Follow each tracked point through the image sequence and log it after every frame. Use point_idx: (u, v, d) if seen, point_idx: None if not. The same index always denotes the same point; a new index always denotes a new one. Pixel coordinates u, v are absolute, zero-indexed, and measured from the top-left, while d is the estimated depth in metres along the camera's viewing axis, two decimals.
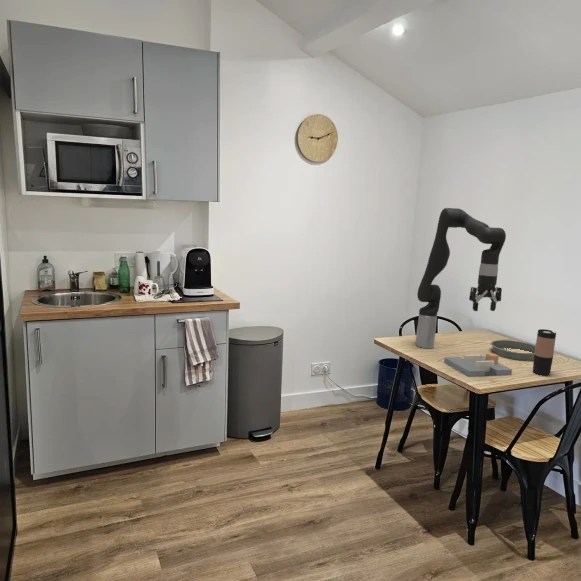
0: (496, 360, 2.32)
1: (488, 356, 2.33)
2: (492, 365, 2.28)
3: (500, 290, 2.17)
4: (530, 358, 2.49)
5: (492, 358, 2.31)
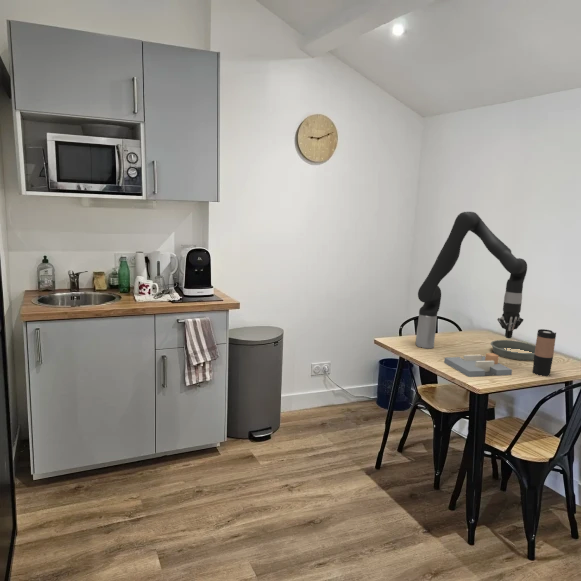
0: (496, 360, 2.32)
1: (488, 356, 2.33)
2: (492, 365, 2.28)
3: (521, 321, 2.32)
4: (530, 358, 2.49)
5: (492, 358, 2.31)
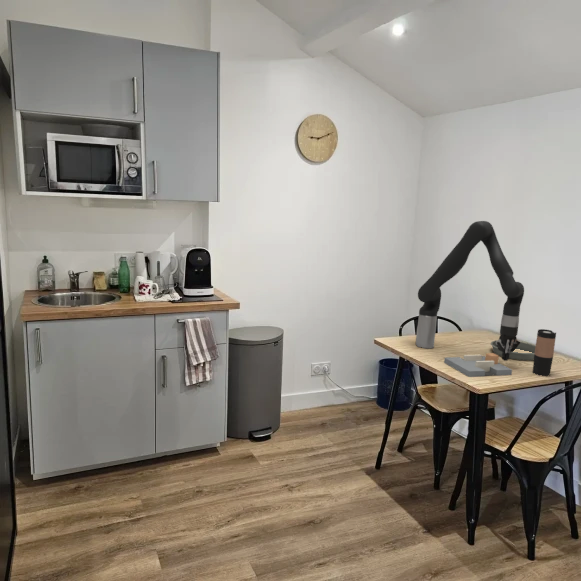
0: (496, 360, 2.32)
1: (488, 356, 2.33)
2: (492, 365, 2.28)
3: (518, 343, 2.34)
4: (530, 358, 2.49)
5: (492, 358, 2.31)
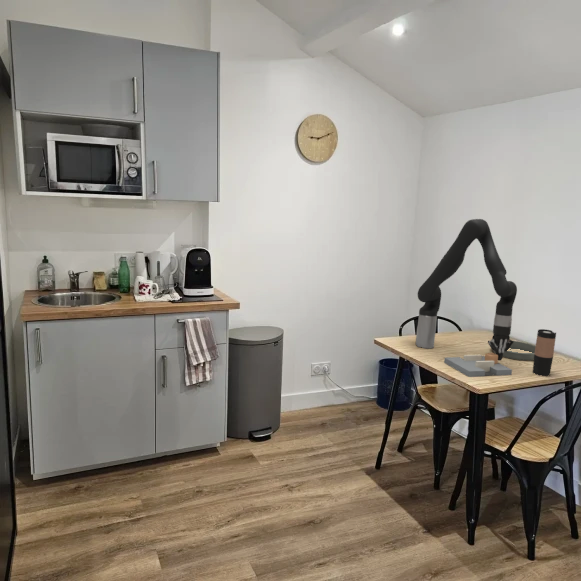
0: (496, 360, 2.32)
1: (487, 356, 2.33)
2: (492, 365, 2.28)
3: (511, 343, 2.33)
4: (530, 358, 2.49)
5: (491, 358, 2.31)
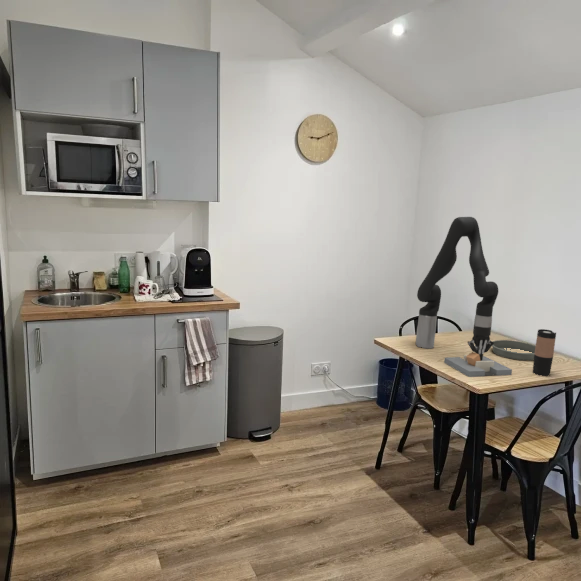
0: (478, 359, 2.28)
1: (470, 359, 2.28)
2: (492, 365, 2.28)
3: (492, 344, 2.31)
4: (530, 358, 2.49)
5: (474, 360, 2.27)
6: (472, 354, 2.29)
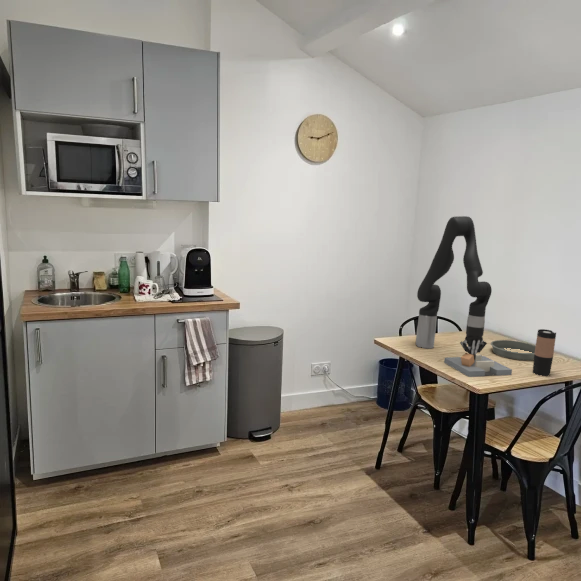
0: (473, 360, 2.27)
1: (464, 359, 2.26)
2: (492, 365, 2.28)
3: (484, 344, 2.30)
4: (530, 358, 2.49)
5: (469, 360, 2.25)
6: (466, 355, 2.28)
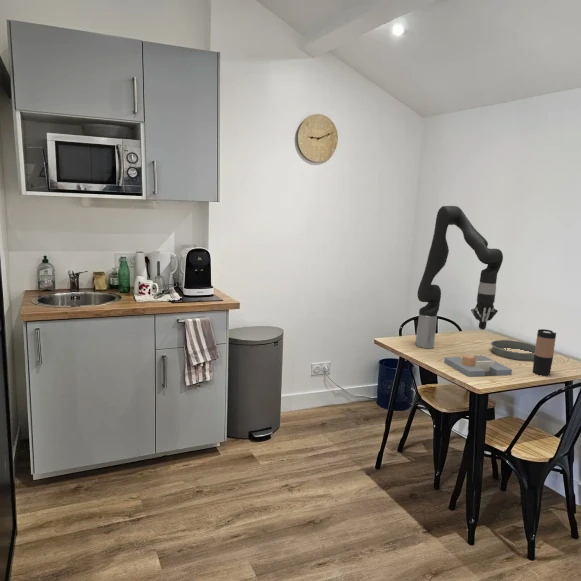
0: (473, 362, 2.28)
1: (466, 358, 2.27)
2: (492, 365, 2.28)
3: (495, 312, 2.29)
4: (530, 358, 2.49)
5: (471, 360, 2.26)
6: (468, 356, 2.29)
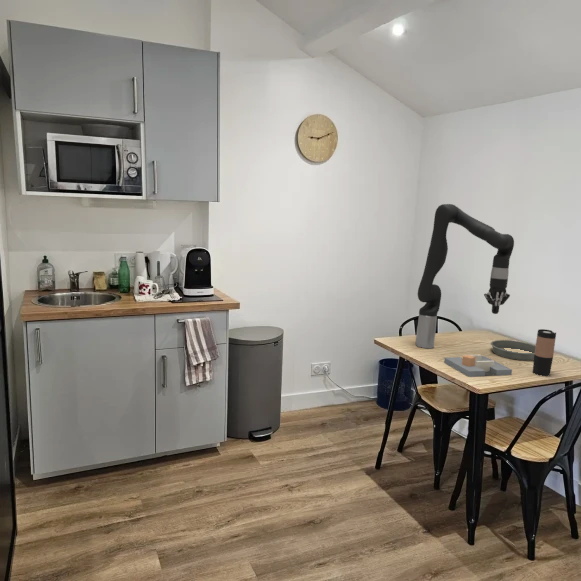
0: (473, 362, 2.28)
1: (466, 358, 2.27)
2: (492, 365, 2.28)
3: (508, 296, 2.34)
4: (530, 358, 2.49)
5: (471, 360, 2.26)
6: (468, 356, 2.29)
